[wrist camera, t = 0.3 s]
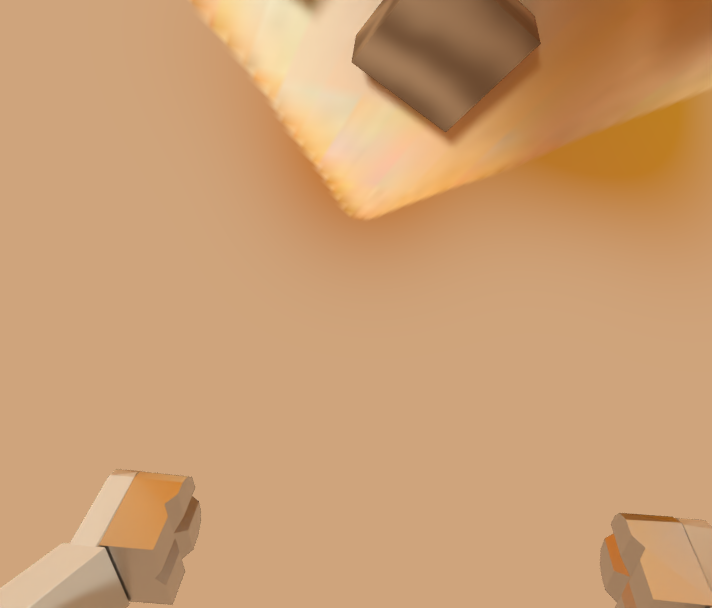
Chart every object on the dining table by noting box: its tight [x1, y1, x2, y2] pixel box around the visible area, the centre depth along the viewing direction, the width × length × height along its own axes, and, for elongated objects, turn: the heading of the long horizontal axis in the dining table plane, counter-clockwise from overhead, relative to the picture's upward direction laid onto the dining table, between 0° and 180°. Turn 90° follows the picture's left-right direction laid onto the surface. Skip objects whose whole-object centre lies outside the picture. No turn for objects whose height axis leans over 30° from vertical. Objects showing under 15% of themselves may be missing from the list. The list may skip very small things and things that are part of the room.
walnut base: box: [352, 0, 541, 132], centre depth 52 cm, size 12×12×5 cm
